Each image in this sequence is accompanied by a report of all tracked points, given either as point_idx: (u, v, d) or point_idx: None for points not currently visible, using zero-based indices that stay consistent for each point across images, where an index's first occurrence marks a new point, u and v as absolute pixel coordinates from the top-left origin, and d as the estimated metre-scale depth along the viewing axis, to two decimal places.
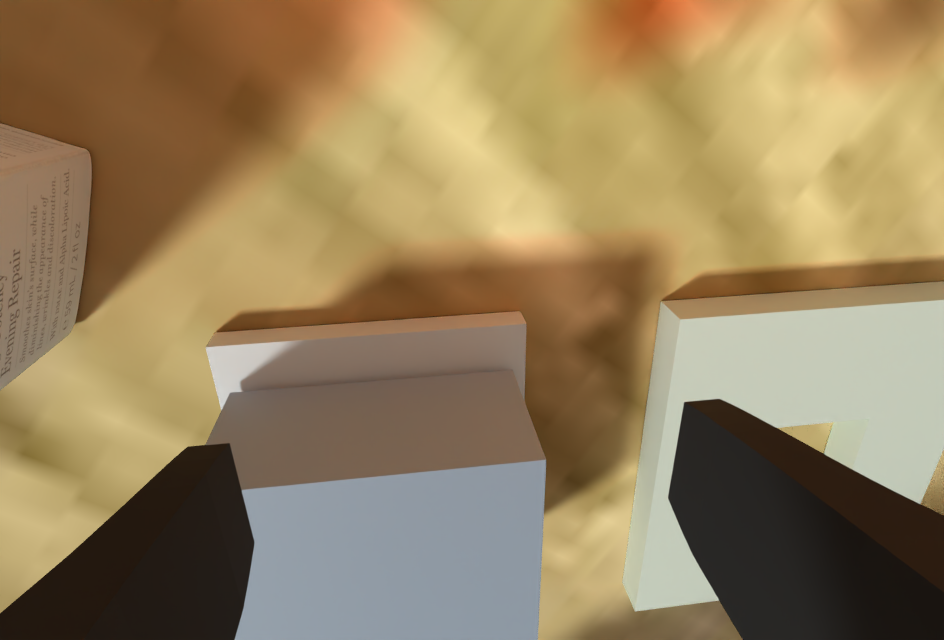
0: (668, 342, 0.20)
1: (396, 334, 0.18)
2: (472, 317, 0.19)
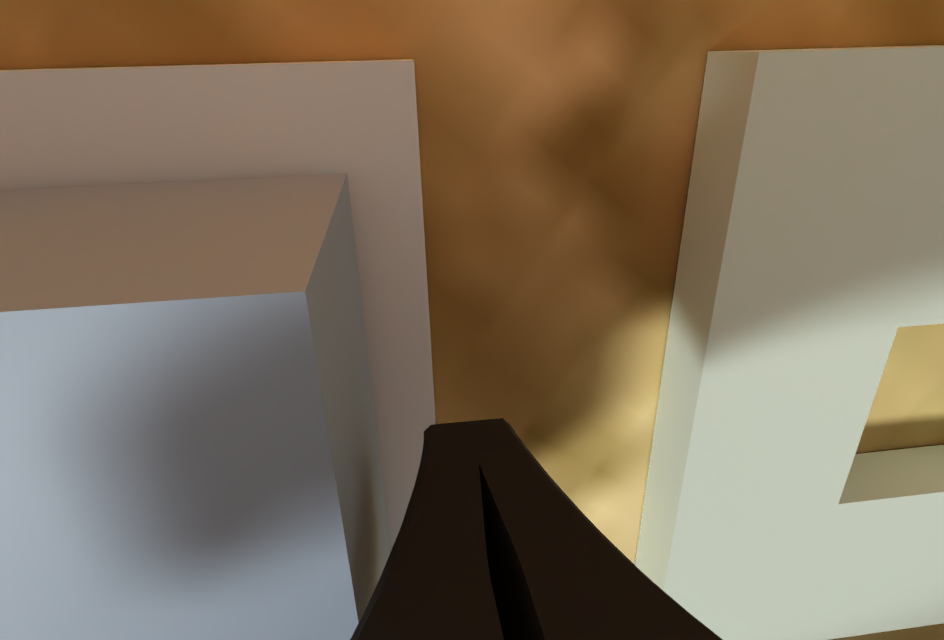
0: (725, 128, 0.09)
1: (107, 72, 0.08)
2: (303, 62, 0.09)
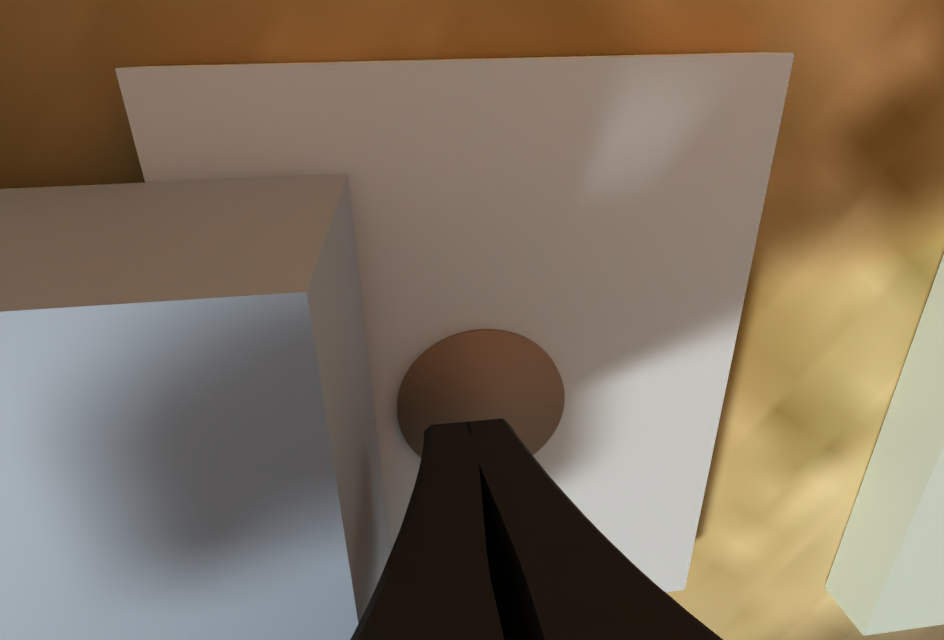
0: None
1: (530, 62, 0.08)
2: (670, 54, 0.09)
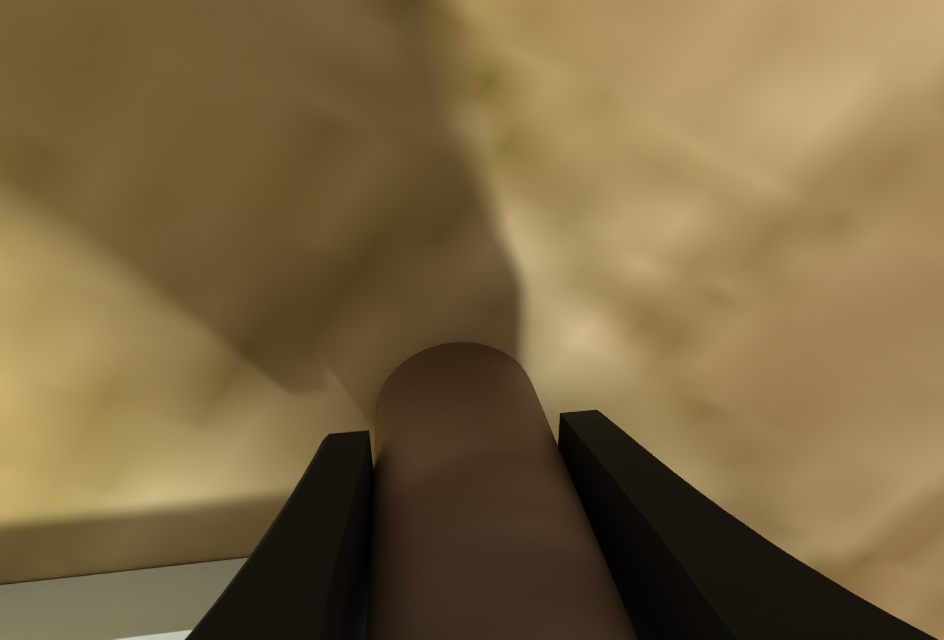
0: None
1: None
2: None
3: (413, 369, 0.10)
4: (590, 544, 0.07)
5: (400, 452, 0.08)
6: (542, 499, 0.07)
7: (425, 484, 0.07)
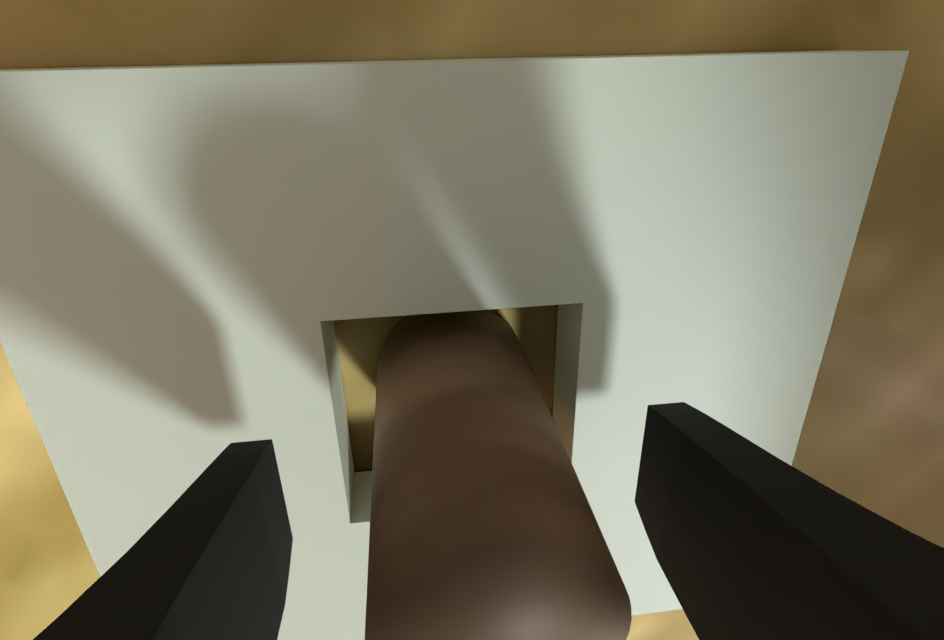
0: None
1: None
2: None
3: (417, 320, 0.11)
4: (567, 462, 0.08)
5: (405, 383, 0.09)
6: (529, 421, 0.08)
7: (428, 404, 0.08)
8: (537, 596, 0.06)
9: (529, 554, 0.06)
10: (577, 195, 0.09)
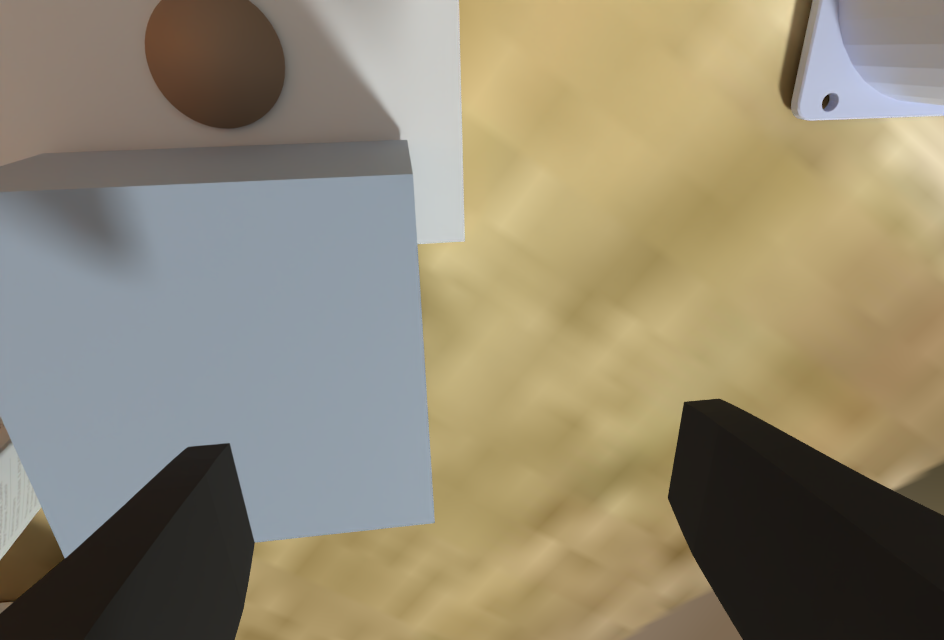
0: None
1: None
2: None
3: None
4: None
5: None
6: None
7: None
8: None
9: None
10: None
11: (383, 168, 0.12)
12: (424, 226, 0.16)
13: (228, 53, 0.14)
